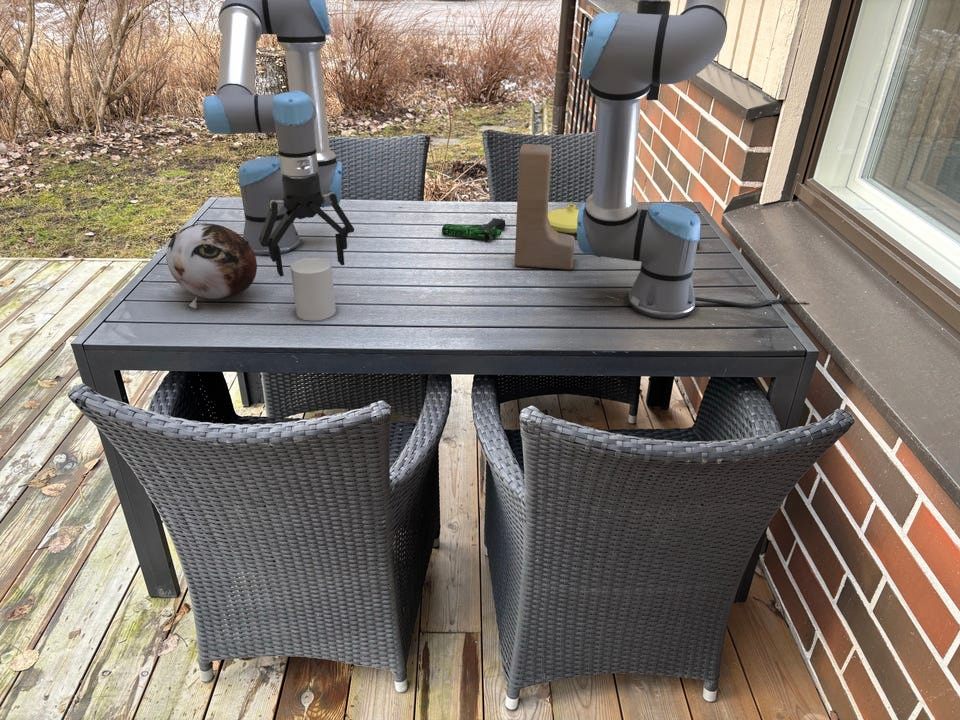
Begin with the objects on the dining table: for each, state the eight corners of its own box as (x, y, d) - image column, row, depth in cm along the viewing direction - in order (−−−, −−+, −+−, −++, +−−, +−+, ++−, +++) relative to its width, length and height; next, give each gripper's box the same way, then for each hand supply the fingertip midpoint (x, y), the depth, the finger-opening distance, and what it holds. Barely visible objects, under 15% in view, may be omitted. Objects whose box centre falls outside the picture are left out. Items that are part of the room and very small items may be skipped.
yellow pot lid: (559, 216, 220) (561, 193, 217) (605, 227, 212) (608, 204, 209) (532, 230, 209) (533, 207, 206) (580, 242, 201) (582, 218, 198)
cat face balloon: (130, 285, 161) (164, 203, 163) (192, 308, 177) (221, 233, 178) (195, 307, 151) (229, 220, 152) (254, 330, 166) (285, 250, 168)
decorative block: (572, 270, 184) (582, 153, 169) (514, 266, 186) (519, 150, 171) (572, 259, 191) (582, 146, 175) (516, 255, 192) (521, 143, 177)
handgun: (511, 219, 210) (493, 234, 198) (511, 228, 211) (492, 244, 199) (461, 212, 215) (440, 226, 203) (461, 221, 217) (440, 236, 204)
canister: (316, 324, 158) (310, 276, 152) (288, 313, 162) (281, 266, 156) (343, 310, 164) (339, 263, 158) (316, 300, 168) (311, 254, 162)
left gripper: (241, 187, 139) (257, 285, 150) (364, 171, 149) (370, 264, 160) (234, 175, 145) (250, 271, 156) (352, 161, 154) (359, 252, 166)
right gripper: (623, -5, 178) (613, 85, 188) (657, 3, 156) (644, 104, 167) (652, -5, 178) (641, 85, 189) (690, 4, 157) (675, 104, 168)
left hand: (311, 268), depth 158 cm, fingers open, 13 cm apart
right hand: (642, 94), depth 178 cm, fingers open, 13 cm apart
